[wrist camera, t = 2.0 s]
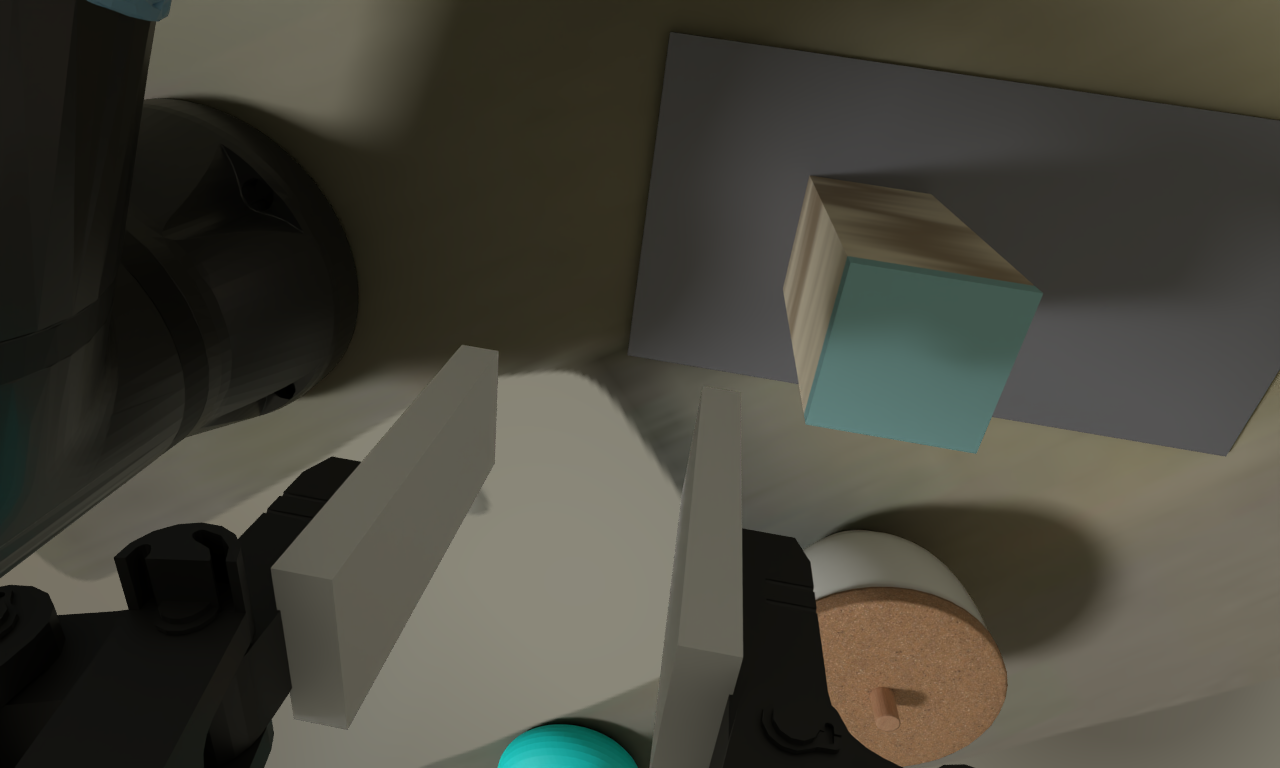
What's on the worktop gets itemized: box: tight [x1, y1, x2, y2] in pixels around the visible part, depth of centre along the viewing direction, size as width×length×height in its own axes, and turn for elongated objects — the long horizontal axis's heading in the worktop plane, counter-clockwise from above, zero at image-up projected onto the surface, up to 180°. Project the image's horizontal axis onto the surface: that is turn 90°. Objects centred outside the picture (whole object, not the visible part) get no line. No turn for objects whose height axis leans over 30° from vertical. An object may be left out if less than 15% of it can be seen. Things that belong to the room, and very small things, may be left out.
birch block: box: [783, 175, 1043, 454], centre depth 25 cm, size 5×5×12 cm
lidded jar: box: [803, 530, 1008, 767], centre depth 35 cm, size 11×11×9 cm
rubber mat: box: [628, 32, 1280, 456], centre depth 30 cm, size 28×14×1 cm, turn 83°
